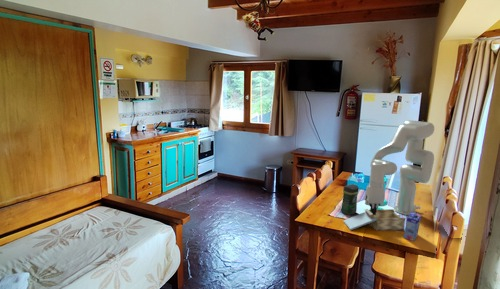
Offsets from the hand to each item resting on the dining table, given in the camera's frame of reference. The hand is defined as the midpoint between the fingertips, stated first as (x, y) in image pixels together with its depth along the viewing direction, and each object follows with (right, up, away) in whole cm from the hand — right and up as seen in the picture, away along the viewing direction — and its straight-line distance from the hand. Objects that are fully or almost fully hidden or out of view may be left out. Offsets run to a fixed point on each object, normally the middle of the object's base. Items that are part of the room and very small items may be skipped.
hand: (373, 213), depth 174 cm
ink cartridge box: (+17, -10, -10) cm, 22 cm away
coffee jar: (-8, -4, +20) cm, 21 cm away
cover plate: (-7, -4, +1) cm, 9 cm away
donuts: (+11, -4, +18) cm, 22 cm away
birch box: (+8, -7, +2) cm, 11 cm away
